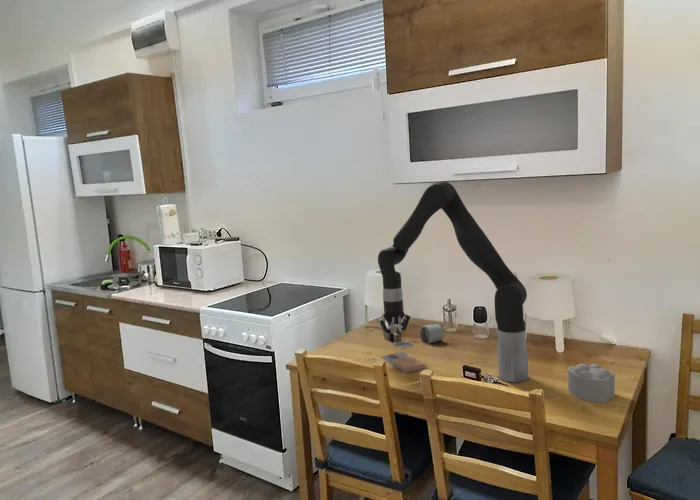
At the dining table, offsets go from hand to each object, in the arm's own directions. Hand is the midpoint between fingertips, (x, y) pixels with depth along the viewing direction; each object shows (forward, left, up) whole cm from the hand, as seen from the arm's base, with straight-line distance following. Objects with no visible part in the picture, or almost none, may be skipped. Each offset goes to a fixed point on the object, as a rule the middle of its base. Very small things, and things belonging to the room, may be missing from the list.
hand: (395, 341), depth 207 cm
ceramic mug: (+11, -22, -7) cm, 26 cm away
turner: (0, 0, 0) cm, 0 cm away
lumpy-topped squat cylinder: (-60, -38, -7) cm, 71 cm away
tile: (-5, 0, -6) cm, 8 cm away
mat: (-6, 0, -7) cm, 9 cm away
